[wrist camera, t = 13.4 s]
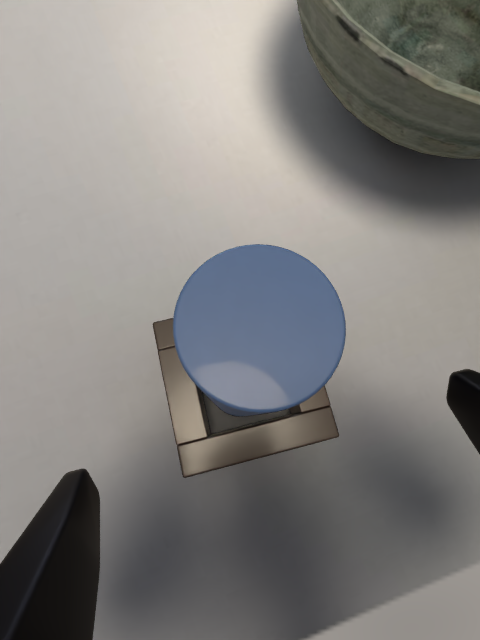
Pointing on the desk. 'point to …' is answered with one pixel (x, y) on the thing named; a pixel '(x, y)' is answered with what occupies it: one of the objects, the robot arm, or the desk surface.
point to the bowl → (403, 68)
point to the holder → (240, 443)
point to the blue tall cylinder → (259, 329)
